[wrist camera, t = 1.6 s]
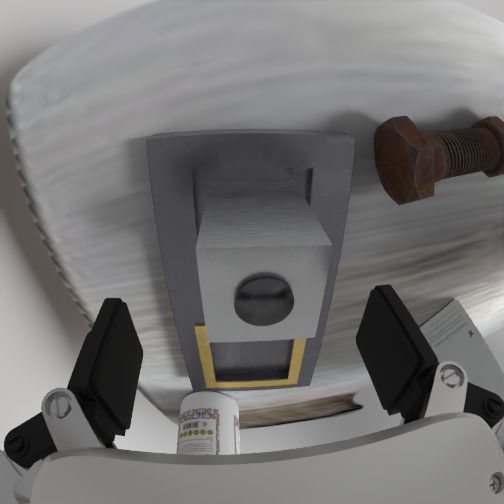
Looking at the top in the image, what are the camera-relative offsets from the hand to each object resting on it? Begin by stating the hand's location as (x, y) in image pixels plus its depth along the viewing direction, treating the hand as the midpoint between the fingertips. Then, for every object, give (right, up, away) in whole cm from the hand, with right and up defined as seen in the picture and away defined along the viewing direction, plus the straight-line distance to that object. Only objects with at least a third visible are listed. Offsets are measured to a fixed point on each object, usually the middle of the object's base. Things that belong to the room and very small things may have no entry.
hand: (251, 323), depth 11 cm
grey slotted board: (0, 0, +12) cm, 12 cm away
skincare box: (+21, -6, +18) cm, 28 cm away
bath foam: (-5, -16, +21) cm, 27 cm away
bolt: (+16, +11, +7) cm, 20 cm away
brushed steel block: (0, +5, +8) cm, 9 cm away
